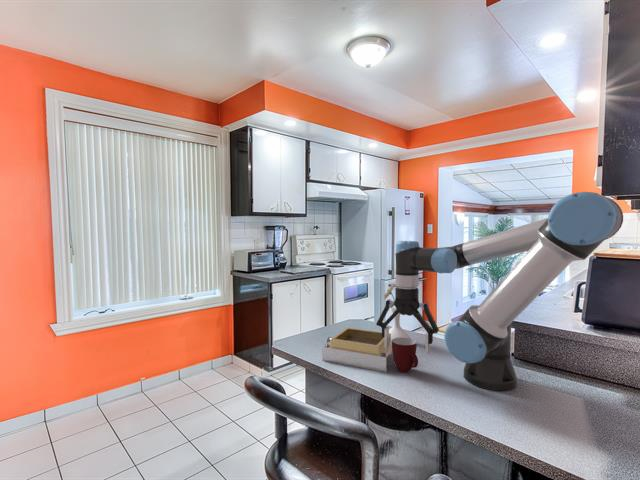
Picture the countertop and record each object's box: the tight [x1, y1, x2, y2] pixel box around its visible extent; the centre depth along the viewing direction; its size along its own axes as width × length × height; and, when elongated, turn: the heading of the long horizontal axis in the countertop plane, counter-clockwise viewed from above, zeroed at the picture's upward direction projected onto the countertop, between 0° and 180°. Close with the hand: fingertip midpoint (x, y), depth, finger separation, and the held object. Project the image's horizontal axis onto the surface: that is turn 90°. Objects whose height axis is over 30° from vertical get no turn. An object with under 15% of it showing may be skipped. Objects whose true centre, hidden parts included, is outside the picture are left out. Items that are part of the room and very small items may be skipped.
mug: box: [392, 338, 419, 374], centre depth 115 cm, size 11×8×10 cm
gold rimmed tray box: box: [321, 327, 394, 373], centre depth 129 cm, size 28×18×8 cm, turn 63°
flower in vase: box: [382, 283, 411, 340], centre depth 145 cm, size 13×11×25 cm
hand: (406, 349), depth 115 cm, fingers open, 13 cm apart
